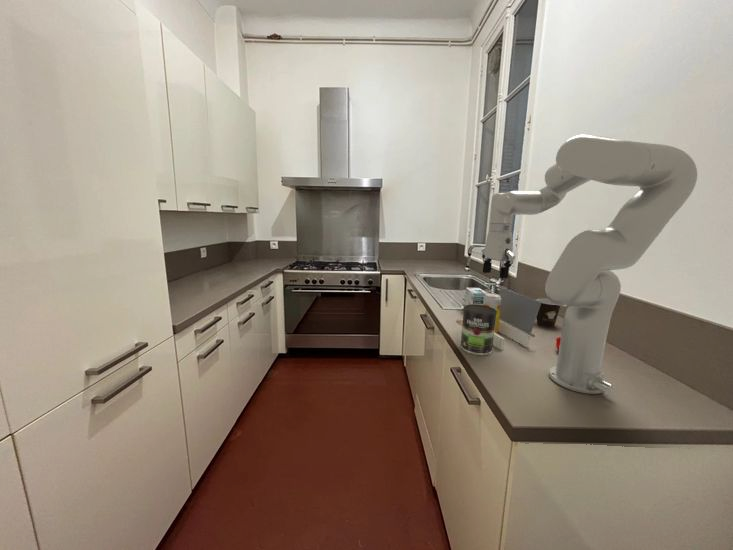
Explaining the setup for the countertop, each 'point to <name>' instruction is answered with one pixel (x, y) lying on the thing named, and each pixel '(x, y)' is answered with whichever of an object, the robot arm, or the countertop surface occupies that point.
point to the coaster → (460, 321)
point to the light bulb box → (474, 296)
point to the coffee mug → (547, 313)
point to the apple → (558, 342)
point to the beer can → (493, 306)
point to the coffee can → (478, 329)
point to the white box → (510, 336)
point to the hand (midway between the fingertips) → (494, 275)
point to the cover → (518, 310)
